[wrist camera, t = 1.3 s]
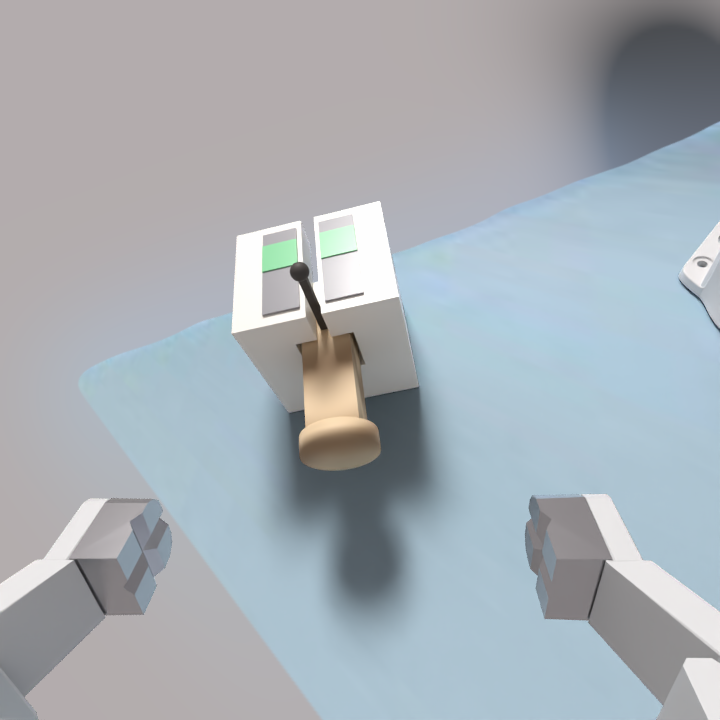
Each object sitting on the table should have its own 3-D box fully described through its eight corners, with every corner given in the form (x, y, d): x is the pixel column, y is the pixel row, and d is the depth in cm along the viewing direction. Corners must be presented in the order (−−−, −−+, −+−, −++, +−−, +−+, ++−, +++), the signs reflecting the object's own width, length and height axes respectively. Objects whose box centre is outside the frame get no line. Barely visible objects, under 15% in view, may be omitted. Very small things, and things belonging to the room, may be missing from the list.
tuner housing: (419, 386, 47) (398, 293, 36) (288, 412, 49) (230, 331, 38) (401, 300, 54) (379, 198, 42) (286, 325, 55) (235, 233, 44)
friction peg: (387, 462, 39) (351, 382, 28) (313, 475, 39) (253, 402, 29) (369, 335, 46) (335, 235, 36) (306, 348, 46) (256, 254, 36)
